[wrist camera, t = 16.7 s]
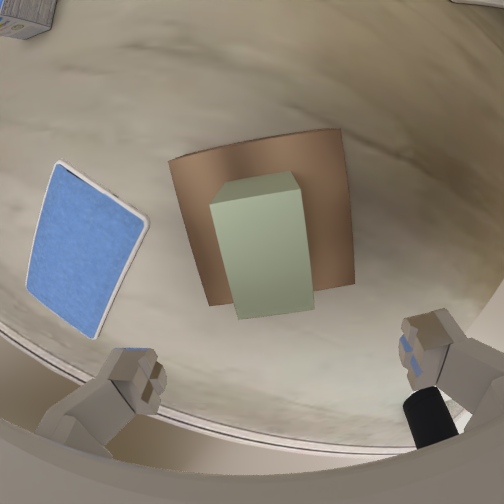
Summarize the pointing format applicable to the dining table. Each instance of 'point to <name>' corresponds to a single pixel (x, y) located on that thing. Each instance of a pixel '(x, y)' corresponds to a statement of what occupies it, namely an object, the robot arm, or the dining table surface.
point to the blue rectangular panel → (82, 248)
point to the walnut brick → (263, 163)
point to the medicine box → (25, 17)
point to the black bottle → (429, 417)
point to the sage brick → (264, 245)
